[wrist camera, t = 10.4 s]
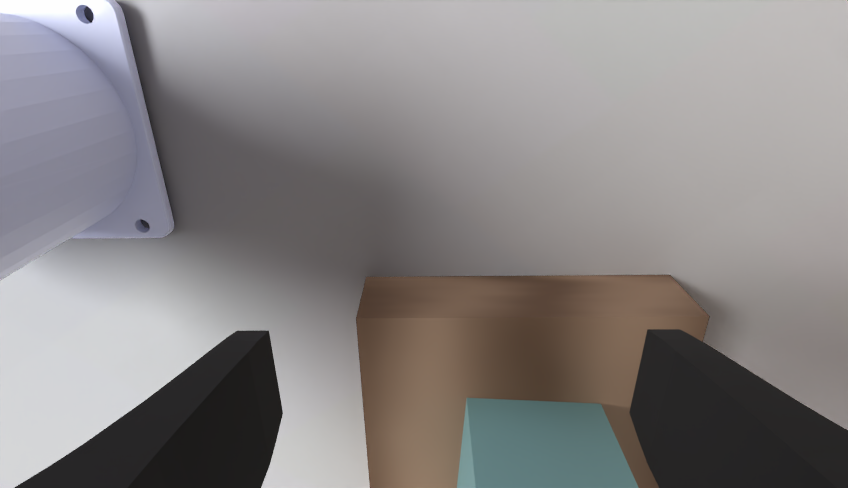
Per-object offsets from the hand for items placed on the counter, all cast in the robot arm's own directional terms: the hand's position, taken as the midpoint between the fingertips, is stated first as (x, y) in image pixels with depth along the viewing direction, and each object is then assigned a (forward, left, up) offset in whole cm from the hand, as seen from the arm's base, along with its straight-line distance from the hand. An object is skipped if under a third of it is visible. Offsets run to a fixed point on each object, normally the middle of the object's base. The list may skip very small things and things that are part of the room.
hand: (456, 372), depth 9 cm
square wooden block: (+3, -9, -10) cm, 14 cm away
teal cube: (+3, -9, -6) cm, 12 cm away
